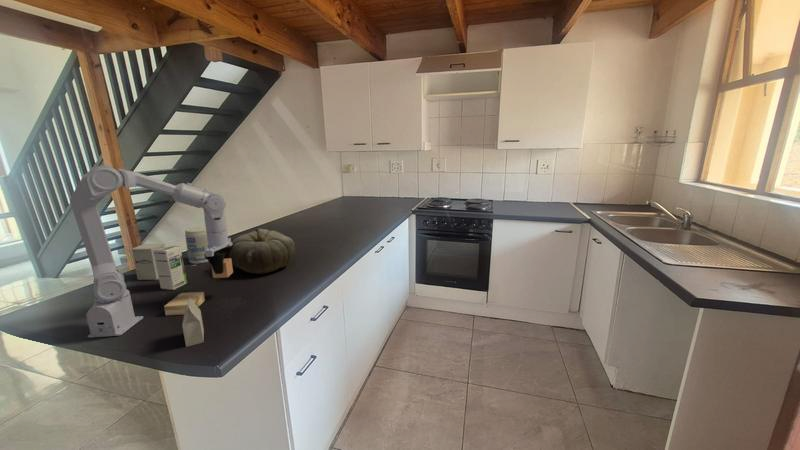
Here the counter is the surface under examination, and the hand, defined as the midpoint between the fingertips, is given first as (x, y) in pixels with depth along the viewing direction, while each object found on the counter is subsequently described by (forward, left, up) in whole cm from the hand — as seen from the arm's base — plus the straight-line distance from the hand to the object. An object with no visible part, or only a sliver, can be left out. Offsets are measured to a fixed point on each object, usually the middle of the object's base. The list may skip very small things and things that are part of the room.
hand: (222, 270), depth 104 cm
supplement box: (+22, +35, -9) cm, 42 cm away
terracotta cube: (0, 0, -2) cm, 2 cm away
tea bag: (-25, -2, -9) cm, 27 cm away
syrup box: (+11, +22, -9) cm, 26 cm away
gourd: (+26, -6, -9) cm, 28 cm away
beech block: (-7, +9, -9) cm, 15 cm away
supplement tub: (+39, +25, -9) cm, 47 cm away
